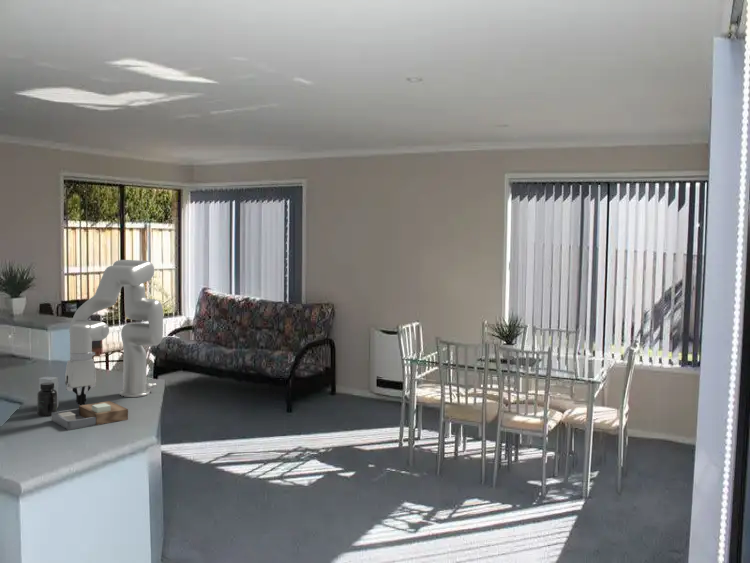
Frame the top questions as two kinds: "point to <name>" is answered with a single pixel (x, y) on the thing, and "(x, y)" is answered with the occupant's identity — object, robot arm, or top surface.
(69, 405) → the top surface
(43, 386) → the supplement bottle
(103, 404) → the tile sage
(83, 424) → the box
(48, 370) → the top surface
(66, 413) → the tile cream
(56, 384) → the skincare box
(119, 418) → the board
